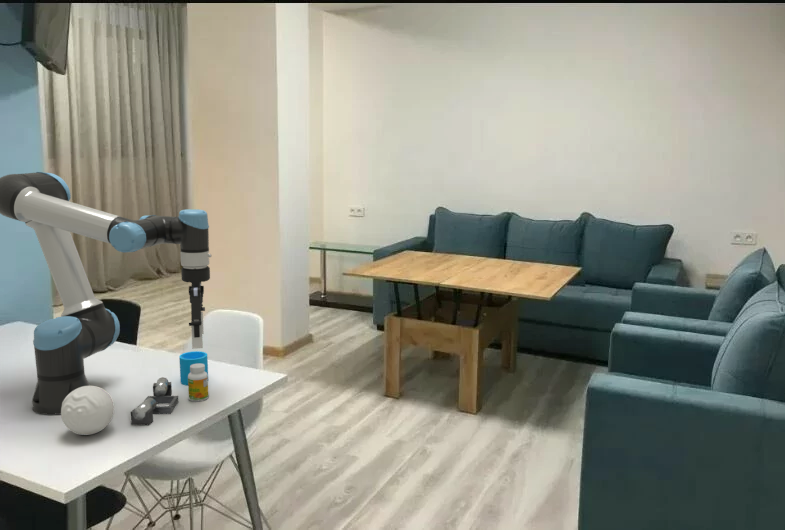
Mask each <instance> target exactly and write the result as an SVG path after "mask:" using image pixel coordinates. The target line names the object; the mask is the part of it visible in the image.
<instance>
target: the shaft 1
mask: <svg viewBox="0 0 785 530" xmlns="http://www.w3.org/2000/svg"><path fill="white" fill-rule="evenodd" d="M156 406H158V404H157V402H156V400H155V399H153V398H148V399H147V400H145V399H144V401H143V402H142V403H140V404H139V405H138V406H136V407H135V408H134V409H132V410H131V411H130V414H129V415H130V425H132V426H133V425H135V426H136V425H137V426H150V425H151V424H153V423H154V414H153V410H154V409H155V408H156Z"/></svg>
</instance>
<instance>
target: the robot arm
mask: <svg viewBox="0 0 785 530" xmlns="http://www.w3.org/2000/svg"><path fill="white" fill-rule="evenodd" d="M71 197H72V196H71V191H70V188H69V186H68V183H66V181H65V180H64V179H63V178H62V177H61V176H59V175H57V174H55V173H51V172H43V171H36V172H26V173H11V174H10V173H9V174H6V175H3V176H1V177H0V215H2V216H4V217H6V218H9V219H12V220H15V221H19V222H23V223H24V224H25V225H26V226H27V227H29V228H32V230H34V232H35V236H36V238H37V240H38V243H39V245H40V248H41V250H42V251H41V252H42V254H43V257H44V259H45V261H46V265H47V267H48V269H49V272H50V275H51V277H52V279H53V282H54V284H55V288H56V290H57V292H58V295H59V298H60V300H61V303H62V306H63V311H62V312H61V315H60V316H58V317H56V318H50V319H49V318H48V319H46V320H44V321H42V322H40V323H39V324H38V325H36V327H34V330H33V340H32V342H33V347H34V356H35V357H34V358H35V368H36V369H35V370H36V377H37V378H36V379H37V382H36V386H35V388H34V393H33V396H32V401H31V406H32V410H33V411H34V412H35V413H38V414H39V415H61V407H62V402H63V401H64V399H65V398H66V396H67V395H68V394H69V393H71V392H72V391H74V390H75V389H77V388H80V387H83V386H91V385H90V383H89V381H88V379H87V376H86V374H85V363H84V359H87V358H89V357H90V356H93V355H95V354H97V353H99V352H102V351H105V350H106V349H108V348H109V347H111V346H112V345H114V344H115V342H117V339H118V338H119V335H120V331H121V329H120V327H121V325H120V321H119V319H118V316H117V315H116V314H115V313H114V312H113V311H111V310H110V309H108V308H106V307H105V305H104V302H103V301H102V300H100V299H99V298H98V299H97V298H96V297H95V294H94V292H93V289H92V286H91V283H90V281H89V279H88V276H87V273H86V271H85V268H84V265H83V262H82V260H81V259H82V258H80V254H79V252H78V249H77V246H76V244H75V241H74V239H73V236H72V233H73V234H76V235H79V236H83V237H86V238H90V239H93V240H95V241H96V240H97V241H99V242H103V243H106V244H110V245H111V246H112V247H113V248H114V249H115V250H116V251H117V252H120V253H135V252H137V251H139V250H142V249H143V250H144V249H146V248H150V247H154V246H158V245H161V244H162V245H163V244H167V245H169V244H170V245H174V244H175V245H179V246H180V266H182V267H181V268H180V269H181V272H180V273H181V280H182V281H183V282H184V283H190V284H191V285H189V286H188V295H189V303H190V311H191V312H190V313H191V321H190V322H188V326H189V327H190V326H191V348H192V349H193V350H194V349H195V350H196V349H203V347H204V345H203V344H204V341H203V335H204V312H206V307H205V306H204V305H203V303H204V293H205V290H204V289H205V287H204V285H202V282H203V283H204V282H208V281H209V280H211V271H210V270H211V269H210V266H209V265H210V258H212V254H211V253H210V248H209V247H210V245H209V244H210V243H209V240H210V239H209V236H210V235H209V229H210V225H209V217H208V213H207V211H206V210H204V209H182V210H180V211H179V213H178V216H169V215H166V216H165V215H156V214H151V215H150V214H149V215H143V216H140V218H139V219H136V220H133V219H130V218H127V217H124V216H120V215H117V214H113V213H110V212H106V211H103V210H101V209H96V208H93V207H89V206H85V205H84V204H83V205H82V204H79V203H76V202H72V201H70V200H71Z"/></svg>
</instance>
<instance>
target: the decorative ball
mask: <svg viewBox="0 0 785 530" xmlns="http://www.w3.org/2000/svg"><path fill="white" fill-rule="evenodd" d="M114 412H115V405H114V400H113V398H112V396H111V394H110V393H109V392H108V391H106V390H105V389H104V388H102V387H99V386H96V385H90V386H83V387H80V388H77V389H75V390H74V391H72V392H71V393H69V394H68V395H67V396H66V398H65V399H64V401H63V402H62V407H61V414H60V416H61V419H62V422H63V425H64V426H65V427H66V428H67V429H68V430H69V431H71V432H72V433H74V434H76V435H81V436H87V435H88V436H90V435H94V434H97V433H99V432H100V431H103V430H104V429H105V428H106V427H107V426H108V425H109V424H110V422H111V421H112V419H113V417H114Z"/></svg>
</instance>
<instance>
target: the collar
mask: <svg viewBox="0 0 785 530" xmlns="http://www.w3.org/2000/svg"><path fill="white" fill-rule="evenodd" d="M148 398H153V399H155V400H156V402H157V406H156V408H155V409H154V410H153V415H172V413H173V412H174V410H175V409H176V407H177V406H178V405H179V395H171V396H153V395H148V396H147V397H146V398H145V399H144V401H145V400H147V399H148ZM164 404H167V405H164Z"/></svg>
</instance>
